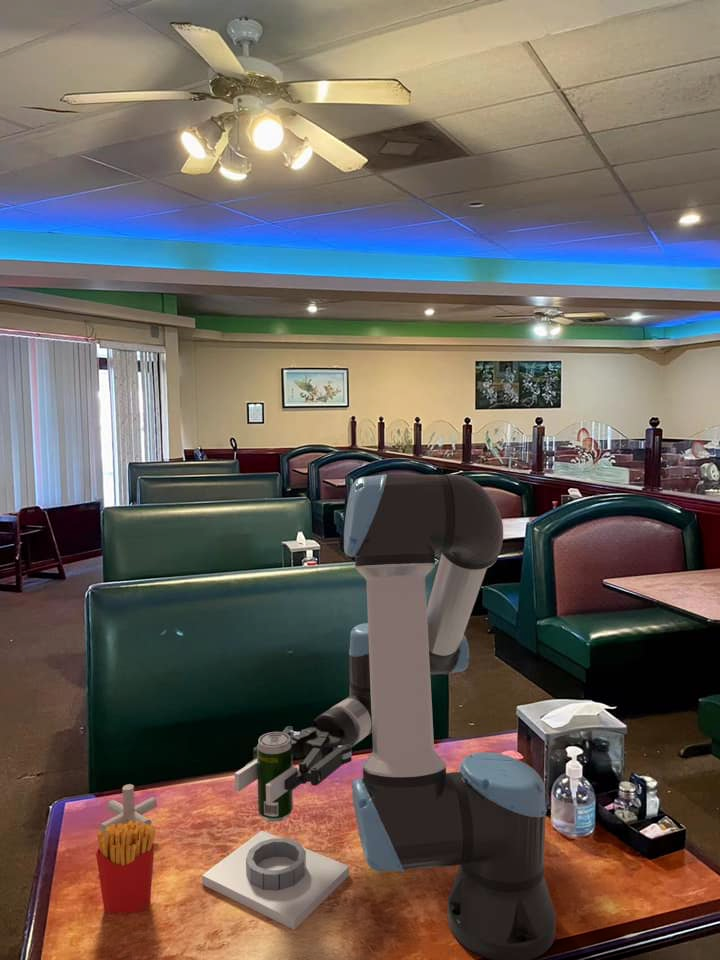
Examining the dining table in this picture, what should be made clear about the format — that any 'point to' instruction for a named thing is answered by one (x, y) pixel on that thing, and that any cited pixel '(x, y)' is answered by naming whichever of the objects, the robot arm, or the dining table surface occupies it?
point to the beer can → (273, 774)
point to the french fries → (126, 866)
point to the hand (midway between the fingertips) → (252, 788)
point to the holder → (276, 878)
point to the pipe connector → (128, 809)
